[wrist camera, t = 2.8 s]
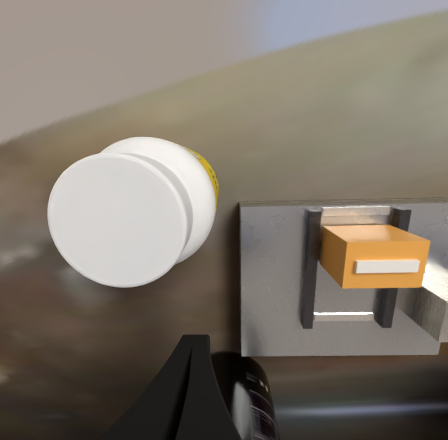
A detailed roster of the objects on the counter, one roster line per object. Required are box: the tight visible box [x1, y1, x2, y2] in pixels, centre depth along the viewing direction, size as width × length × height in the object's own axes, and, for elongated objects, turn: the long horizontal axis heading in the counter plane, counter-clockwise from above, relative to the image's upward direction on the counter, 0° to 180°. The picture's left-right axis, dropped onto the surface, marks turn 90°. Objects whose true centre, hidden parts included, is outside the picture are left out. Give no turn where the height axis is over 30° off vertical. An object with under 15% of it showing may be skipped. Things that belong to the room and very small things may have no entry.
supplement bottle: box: [47, 137, 219, 288], centre depth 11 cm, size 5×5×10 cm
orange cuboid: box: [320, 225, 431, 289], centre depth 13 cm, size 4×2×3 cm, turn 91°
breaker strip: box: [239, 197, 448, 356], centre depth 15 cm, size 14×11×5 cm
